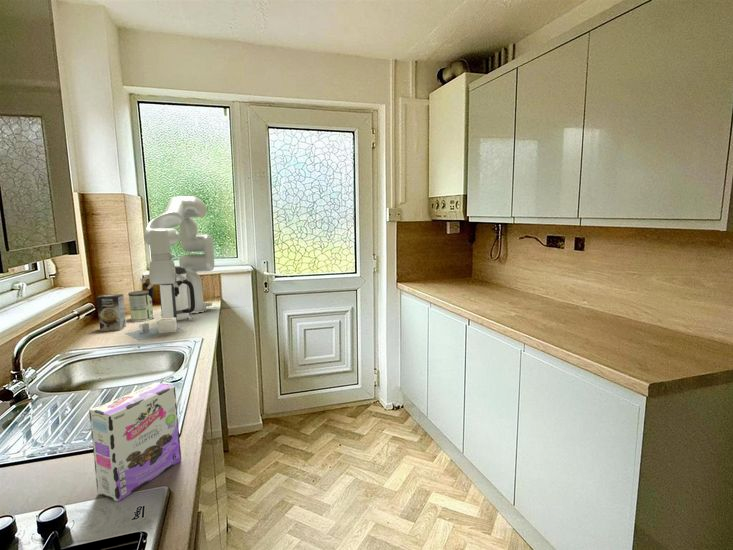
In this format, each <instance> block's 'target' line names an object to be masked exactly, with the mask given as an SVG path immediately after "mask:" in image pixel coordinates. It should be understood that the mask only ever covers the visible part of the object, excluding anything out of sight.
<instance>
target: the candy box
mask: <svg viewBox="0 0 733 550" xmlns="http://www.w3.org/2000/svg"><path fill="white" fill-rule="evenodd" d="M176 396H177V395H176V386H175V385H170V384H167V383H166V384H165V383H161V382H156V381H155V382H153V383H152V384H149V385H148V386H145V387H142V388H139V389H137V390H136V391H132V392H130V393H127V394H125V395H123V396H121V397H118V398H116V399H113V400H111V401H110V400H109V402H106V403H104V404H100V405H99V406H96V407H92V408H90V409H89V410H88V414H89V421H90V430H91V431H90V432H91V441H92V450H93V451H92V452H93V460H94V470H95V480H96V490H97V492H96V493H97V494H99V495H101V496H104V497H106V498H108V499H109V500H112V501H114V502H120V501H121V500H123V499H124V498H126V497H127V496H130V495H131V493H133V492H135V491H137V490H139V489H140V488H141V487H143V486H144V485H147V483H149V482H150V481H152V480H153V479H155V478H157V477H159V476H161V474H163V473H164V472H166V471H168V470H169V469H171V468H173V467H174V465H176V464H178V463H180V462H182V452H181V440H180V432H179V431H180V430H179V429H180V428H179V418H178V417H179V416H178V404H177V397H176Z"/></svg>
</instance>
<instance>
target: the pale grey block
mask: <svg viewBox="0 0 733 550" xmlns="http://www.w3.org/2000/svg"><path fill="white" fill-rule="evenodd" d="M138 329H139V330H138V331H139V332H140V333H141V334H144V333H148V332H149V329H150V325H149V323H148V322H147V323H146V322H144V323H141V324H138Z"/></svg>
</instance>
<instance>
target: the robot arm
mask: <svg viewBox="0 0 733 550" xmlns="http://www.w3.org/2000/svg"><path fill="white" fill-rule="evenodd" d="M207 210H208V209H207V205H206V203H205V202H204V201H203V200H202V199H200V198H198V197H196V196H191V195H190V196H188V195H187V196H184V195H183V196H173V197H171V198H170V199H169V200H168V203H167V205H166V207H165V210H164V212H163V213H162V214H160V215H158V216H156V217H155V218H152V219H151V220H150V221H149V222H148V223H147V225H146V228H145V231H144V234H143V240H144V241H145V243H146V245H149V246H150V247H149V248H150V258H151V260H150V261H149V267H148V269H149V272H148V275H145V276H144V277H142V278H140V282H141V283H142V284H143V286H144V287H145V288H146V289H147V290H148V291H149V296H151V298H152V299H153V298H154V297H155V295H154V288H153V287H154V286H155V285H159V284H171V283H172V284H173V285H174V286H175V296H176V297H177V296H178V294H179V286H180V285H181V284H182V283H183V281H184V279H185V277H184V276H182V275H179V274H177V273H176V271H175V266H176V265H175V262H174V260H173V259H175V254H172V253H171V246H174V245H175V246H176V245H177V244H179V242H180V246H181V249H182V251H183V252H189V254H188V253H187V254H183V255H182V256H181V257H180V258H179V260H178V261H179V262H178V263H179V266H180V267H183V268H185V270H186V271H187V273H186V278H187V281H190V282H191V283H192V285H193V288H194V296H195V309H194V311H193V312H190V315H193V314H192V313H196V314H200V313H199V312H202V313H205V312H207V311H208V309H207V307H212V306H213V303H212V301H211V302H205V301H204V296H203V295H204V291H203V280H202V278H201V276H200V274H198V272H199V273H201V272H203V273H204V272H211V271H213V270H214V268H215V254H214V253H215V252H214V241H213V237H212V236H211V234H207V233H198V224H197V223H196V221H195V220H194V219H193V218H204V217H206V215H207ZM178 226H179V231H178V230H177V229H176V228H175V227H178ZM191 252H192V254H191ZM193 252H195V253H193ZM196 252H199V253H196ZM200 252H203V253H200ZM176 277H178V278H180V279H181V280H180V282H179V283H177V282H176ZM146 280H149V283H147V281H146ZM187 287H188V291H187V293H188V299H189V304H188V306H189V309H190V308H191V300H190V289H189V286H188V285H187ZM206 310H207V311H206ZM204 311H205V312H204Z"/></svg>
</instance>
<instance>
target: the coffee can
mask: <svg viewBox="0 0 733 550" xmlns="http://www.w3.org/2000/svg"><path fill="white" fill-rule="evenodd" d="M128 302H129V303H128V304H129V310H130V321H131V322H135V321H138V322H144V321H143V320H146V321H150V320H149V319H151V320H152V318H153V317H154V309H153V298H151V296H149V290H148V289H147V290H136V291H130V292H128ZM153 319H154V318H153Z"/></svg>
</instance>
